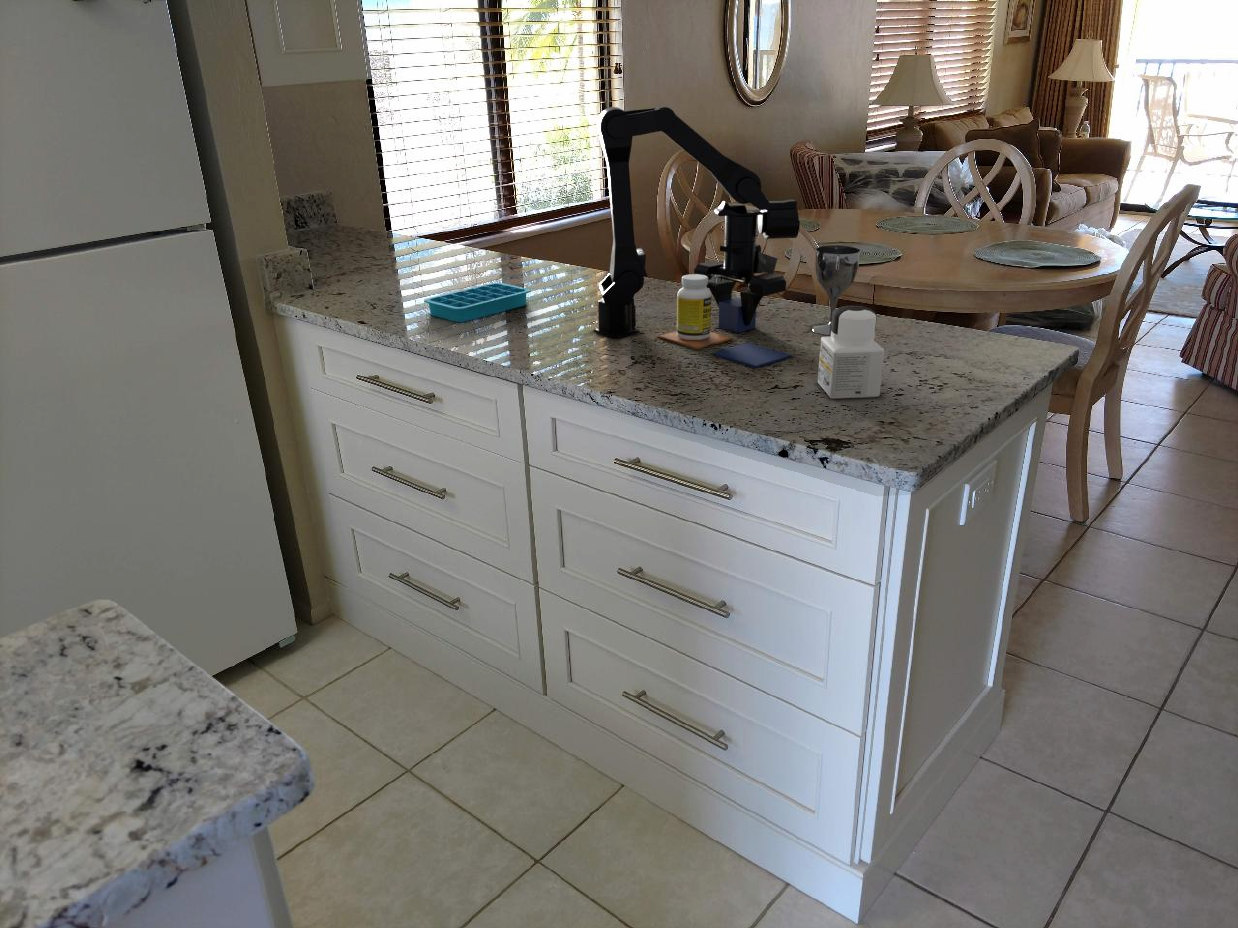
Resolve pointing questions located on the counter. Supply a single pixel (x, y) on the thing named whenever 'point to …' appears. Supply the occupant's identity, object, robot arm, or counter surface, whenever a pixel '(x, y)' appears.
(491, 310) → the ice cube tray
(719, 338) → the amber mat
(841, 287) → the wine glass
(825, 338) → the container
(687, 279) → the pill bottle
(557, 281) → the counter surface
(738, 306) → the navy block
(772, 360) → the navy mat
